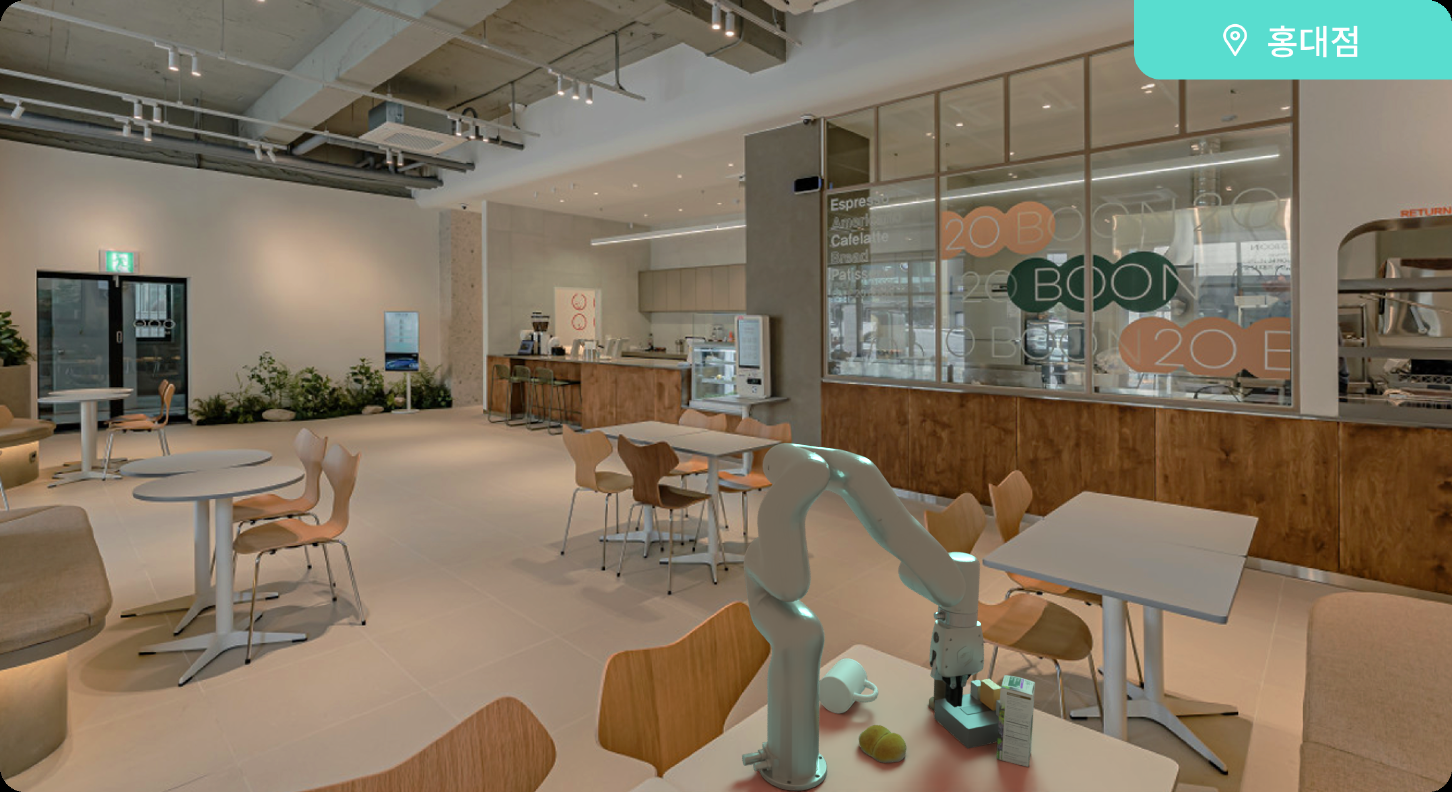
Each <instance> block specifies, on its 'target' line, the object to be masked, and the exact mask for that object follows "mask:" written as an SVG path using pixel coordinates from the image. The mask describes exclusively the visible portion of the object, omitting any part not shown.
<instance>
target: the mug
mask: <svg viewBox="0 0 1452 792" xmlns="http://www.w3.org/2000/svg"><path fill="white" fill-rule="evenodd" d="M865 689H869V690H872V691H873V693H870V694H863V692H864V691H865ZM878 696H879V689H878V687H877V685H876V684H875V683H873V682H872V681H869V680H868V675H867V672H866V670H865V668H864V666H863V665H862V664H861V663H859V662H858V661H857V660H855V659H852V658H842V659H840V660H838V661H837V662H836V663H835V664H834V665H833V666H832V667H831V668H830V669H829V670H828V672H826V674H824V676H823V677H822V678H821V679H819V703H820V704H821V705H822V706H823V707H824V708H825V709H826V710H827V711H829V712H831V713H834V714H844V713H846V712H847V711H848V710H850V708H851V706H852V705H854V703H855V702H859V703H872V702H873V701H876V700H877V698H878Z"/></svg>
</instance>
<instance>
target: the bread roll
mask: <svg viewBox="0 0 1452 792" xmlns="http://www.w3.org/2000/svg"><path fill="white" fill-rule="evenodd" d="M858 745H859V747H860V749H861V750H862V752H863V753H864V754H866V755H868V756H870V757H872V758H873V759H874V760H875V761H877V762H880V763H882V764H888V763H889V764H891V763H896V762H897V763H899V762H901V761H902V760H903V759H905V757H906V754H907V744H906V742H905V739H904V737H902V735H900V734H898V733H895V732H891V730H890V729H888V728H887V727H886V726H884V725H881V724H879V725H878V724H874V725H871V726H868V727H867V728H866V729H865V730H864V731H862V732H861V733H860V734H859V736H858Z"/></svg>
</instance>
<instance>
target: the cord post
mask: <svg viewBox="0 0 1452 792" xmlns="http://www.w3.org/2000/svg"><path fill="white" fill-rule="evenodd" d="M945 689H946V683H945V682H944V681H943V680H935V679H934V678H933V696H931V697H929V699H928V707H929V708H930V709H931V710H932V711H933V712H935V700H939V699H944V698H945Z"/></svg>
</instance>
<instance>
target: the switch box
mask: <svg viewBox="0 0 1452 792" xmlns="http://www.w3.org/2000/svg"><path fill="white" fill-rule="evenodd" d="M969 690H970V692H969V693H965V694H963V698H962V706H960V707H959V706H957V707H953V706H952V705H951V704H949V703H948V702H947V701H946V698H944V699H939V700H935V711H934V714H933V715H934V717H933V719H934V720H935V721H937V723H939V724H940V725H941V726H942V727H943V728H945V730H947V732H949V733H950V734H951V735H952V736H953V737H954V738H956V740H958V741H959V742H960V743H961V744H962V745H963V746H964V747H965V748H966V749H971V748H976V747H982V746H986V745H990V744H996V743H997V742H998V724H999V707H1000V700H996V710H994V711H993V710H991V709H990V708H989V707H988V706H986V705H985V704H984V703H982V702H981V701H980V690H981V679H980V680H979V679H976V680H971V681H970V689H969Z"/></svg>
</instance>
